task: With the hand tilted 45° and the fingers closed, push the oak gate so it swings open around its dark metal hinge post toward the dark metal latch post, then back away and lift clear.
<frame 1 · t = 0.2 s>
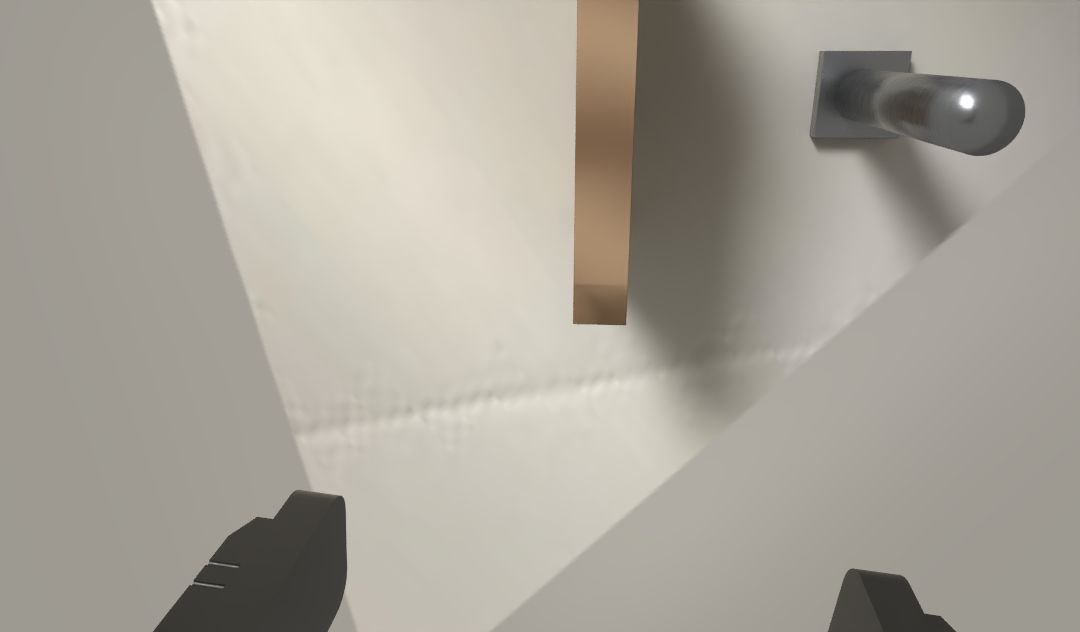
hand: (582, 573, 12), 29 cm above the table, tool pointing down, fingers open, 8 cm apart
gate: (604, 108, 31), point 7 cm above the table, hinge at 0.0°
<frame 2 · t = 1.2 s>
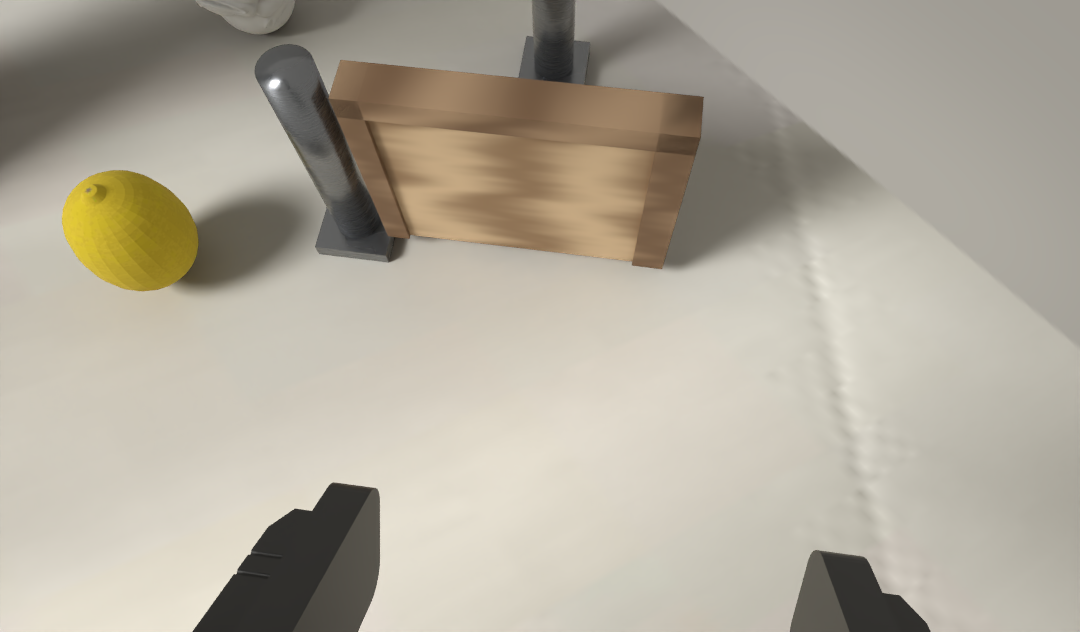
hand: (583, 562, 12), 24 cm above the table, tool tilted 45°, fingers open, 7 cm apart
gate: (521, 177, 35), point 7 cm above the table, hinge at 0.0°
lemon: (174, 270, 41), on the table
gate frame: (362, 227, 42), on the table
white lumpy piece: (266, 26, 48), on the table
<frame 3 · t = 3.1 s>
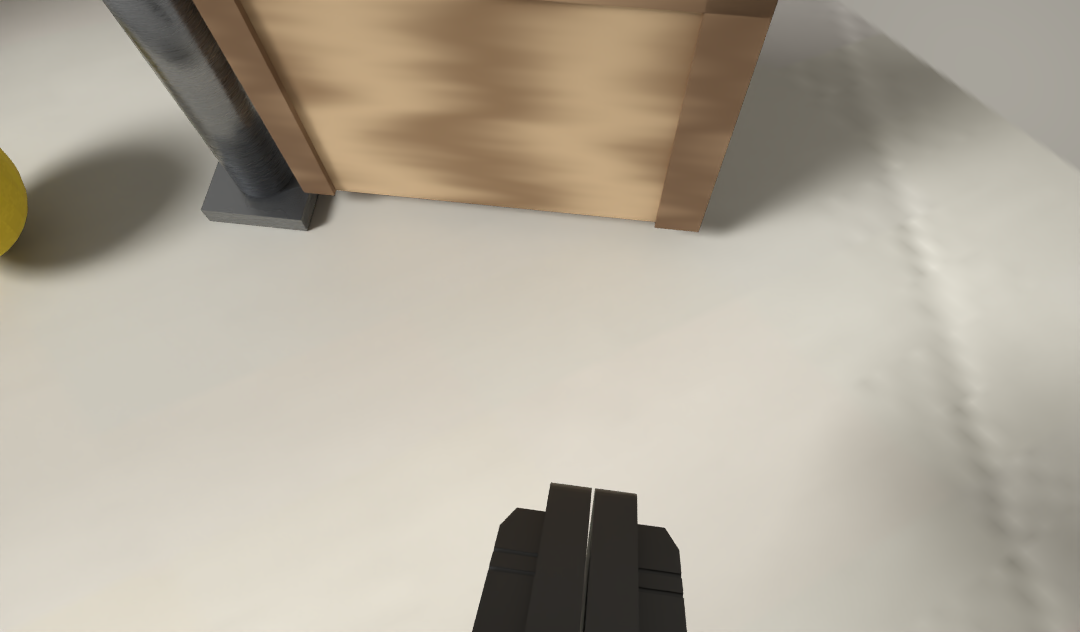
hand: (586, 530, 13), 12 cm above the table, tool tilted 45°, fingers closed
gate: (487, 86, 23), point 7 cm above the table, hinge at 0.0°
lemon: (4, 246, 29), on the table
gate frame: (272, 183, 30), on the table
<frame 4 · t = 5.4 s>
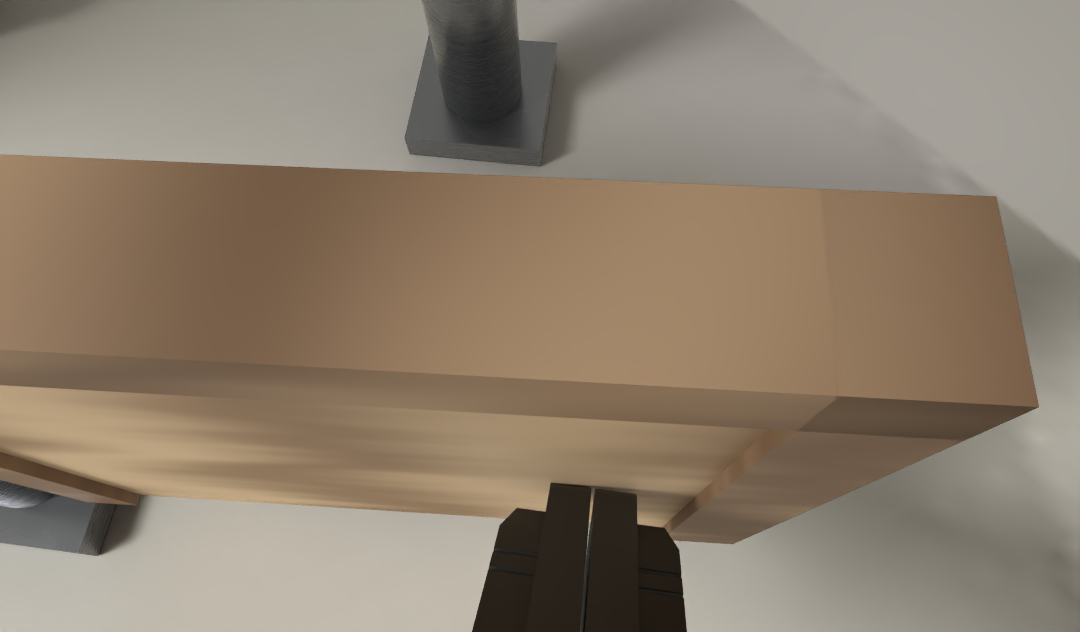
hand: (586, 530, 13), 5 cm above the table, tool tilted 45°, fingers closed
gate: (343, 416, 12), point 7 cm above the table, hinge at 3.5°, touching gripper
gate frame: (51, 464, 19), on the table
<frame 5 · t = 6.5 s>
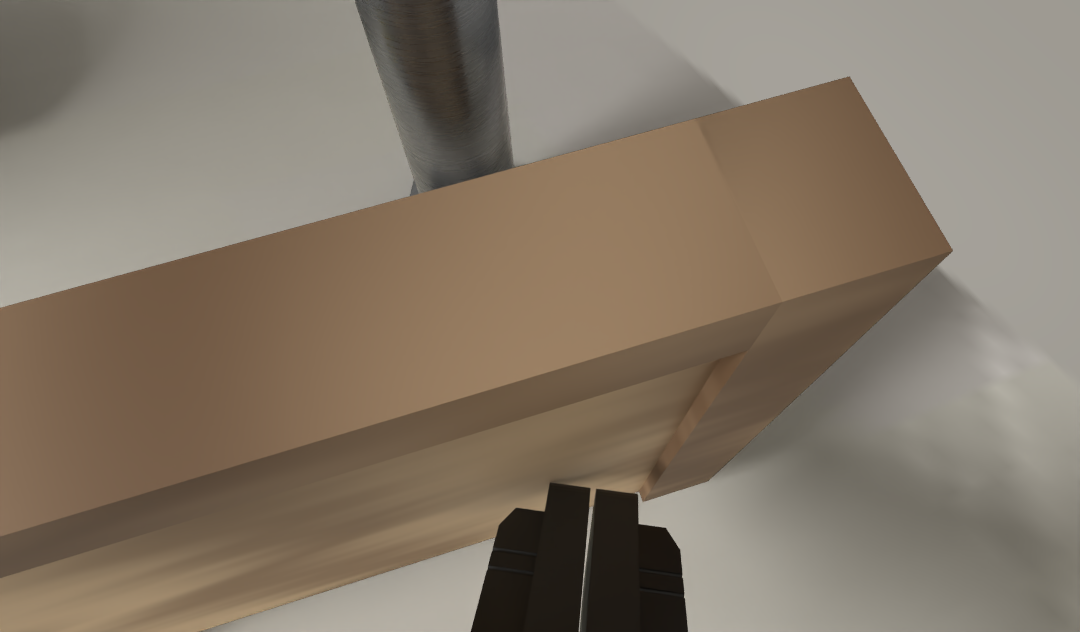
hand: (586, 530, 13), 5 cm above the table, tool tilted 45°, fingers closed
gate: (299, 499, 11), point 7 cm above the table, hinge at 24.7°, touching gripper
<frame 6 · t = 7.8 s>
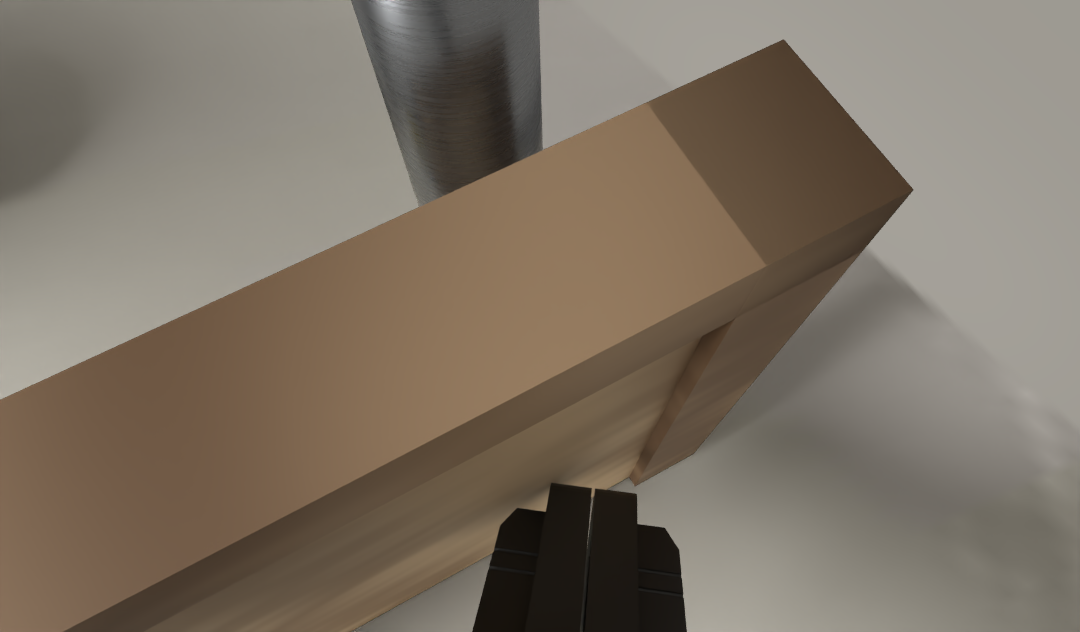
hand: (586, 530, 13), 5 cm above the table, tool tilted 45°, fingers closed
gate: (300, 552, 11), point 7 cm above the table, hinge at 35.5°, touching gripper
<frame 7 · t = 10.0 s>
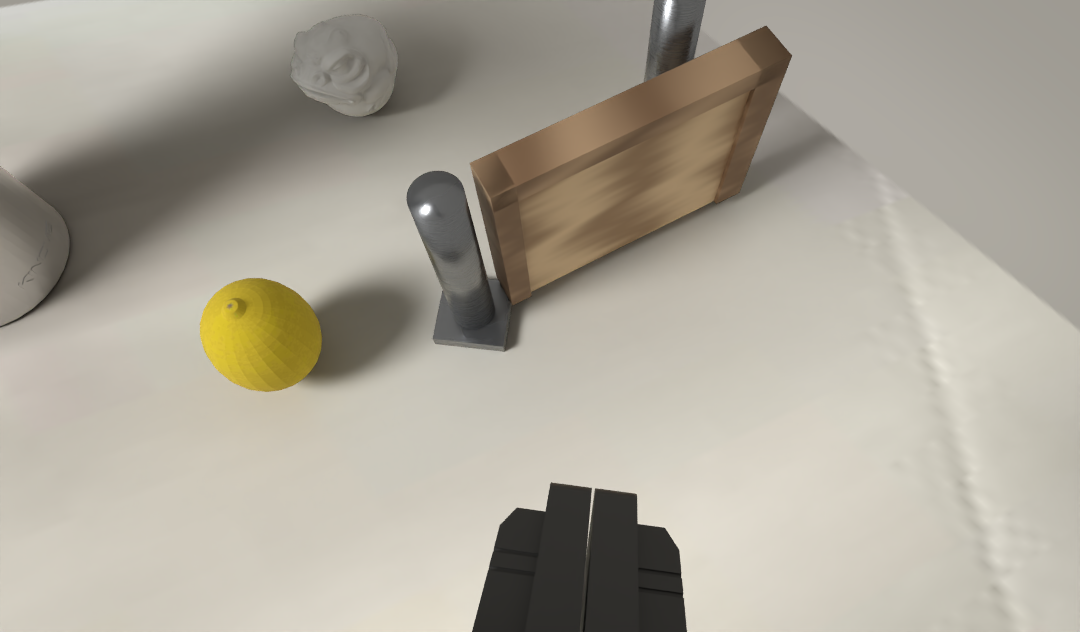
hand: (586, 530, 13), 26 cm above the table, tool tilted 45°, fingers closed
gate: (626, 180, 37), point 7 cm above the table, hinge at 35.5°
lemon: (292, 362, 42), on the table
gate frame: (475, 315, 42), on the table
white lumpy piece: (363, 106, 49), on the table
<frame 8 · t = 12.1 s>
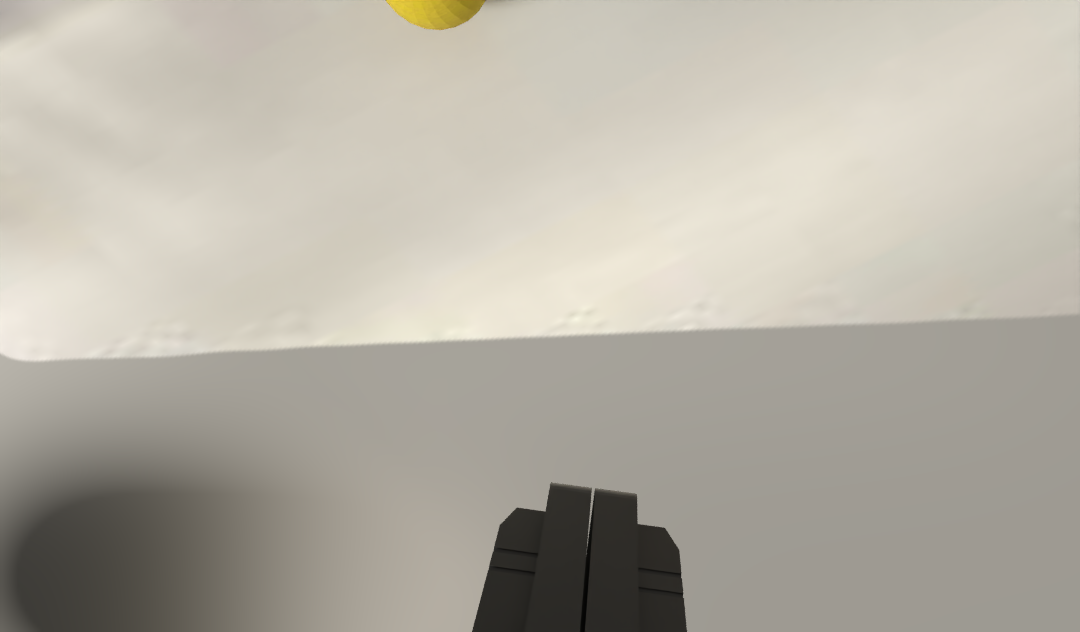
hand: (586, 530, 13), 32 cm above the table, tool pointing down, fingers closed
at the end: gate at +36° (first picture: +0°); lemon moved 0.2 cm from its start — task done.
